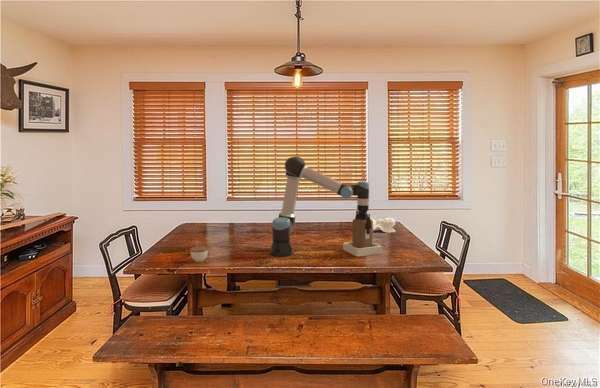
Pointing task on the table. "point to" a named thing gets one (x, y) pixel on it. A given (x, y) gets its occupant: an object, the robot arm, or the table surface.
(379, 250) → the box
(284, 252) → the robot arm
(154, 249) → the table surface
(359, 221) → the wooden block
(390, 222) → the cherub figurine
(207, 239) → the table surface
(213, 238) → the table surface
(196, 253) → the white round bowl
